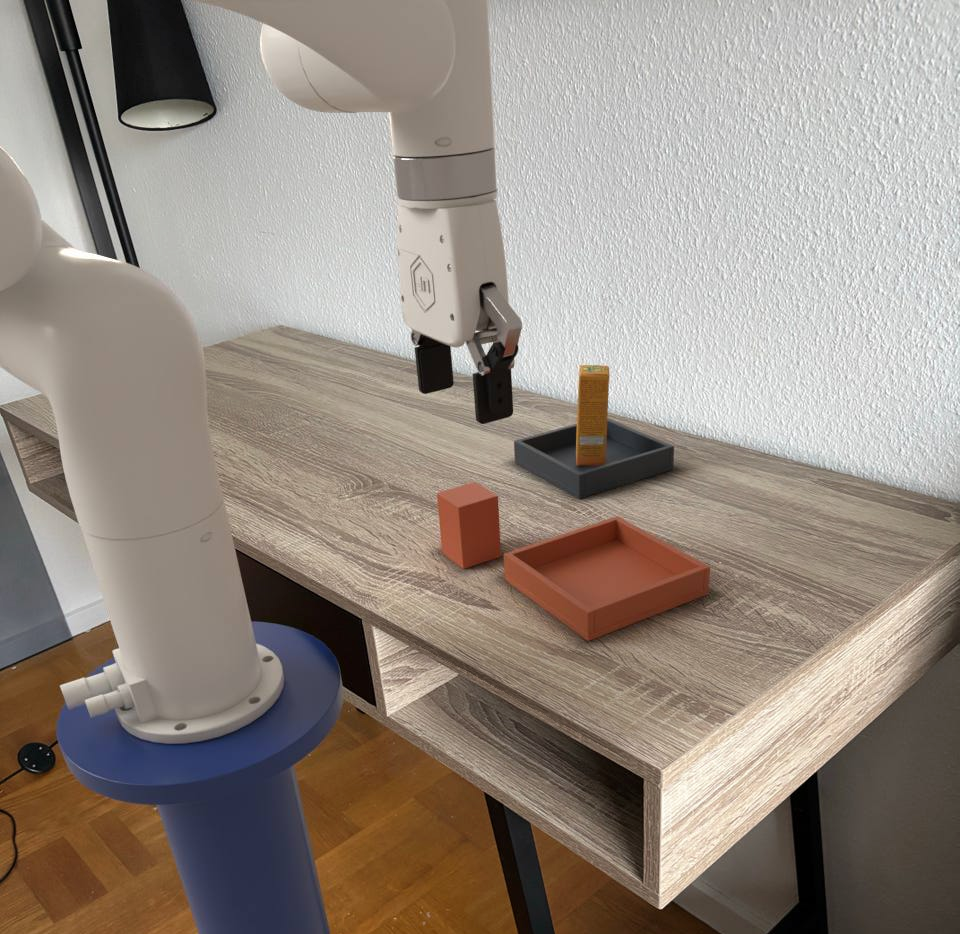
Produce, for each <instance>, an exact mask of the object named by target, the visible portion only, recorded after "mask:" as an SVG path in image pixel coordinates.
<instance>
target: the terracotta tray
mask: <svg viewBox="0 0 960 934" xmlns="http://www.w3.org/2000/svg"><path fill="white" fill-rule="evenodd" d="M503 567H504V568H503V570H504V581H506V582H507V583H508V584H510V585H511V586H513V587H514V588H515V589H517V590H518V591H519V592H520V593H522V594H523V595H524V596H526V597H527V598H528V599H530V600H531V601H532V602H534V603H535V604H537V605H538V606H539V607H541V608H542V609H543V610H545V611H546V612H547V613H549V614H550V615H552V616H553V617H554V618H555V619H557V620H558V621H560V622H561V623H562V624H564V625H565V626H566V627H568V628H569V629H570V630H572V631H573V632H575V633H576V634H577V635H578V636H580V637H582V638H583V639H584V640H586V641H587V642H590V641H593V640H595V639H598V638H600V637H603V636H605V635H608V634H610V633H613V632H615V631H618V630H620V629H623V628H625V627H629V626H630V625H633V624H636V623H638V622H641V621H644V620H646V619H649V618H651V617H653V616H657V615H659V614H662V613H664V612H667V611H670V610H671V609H675V608H677V607H679V606H682V605H684V604H687V603H690V602H692V601H694V600H698V599H700V598H702V597H705V596H707V595H709V588H710V576H711V566H710V565H708V564H706V563H704V562H703V561H700V560H699V559H697V558H695V557H693V556H691V555H689V554H687V553H686V552H684V551H682V550H680V549H678V548H677V547H675V546H673V545H671V544H669V543H668V542H665V541H664V540H662V539H661V538H659V537H656V536H655V535H654V534H651V533H650V532H648V531H646V530H644V529H642V528H640V527H638V526H637V525H635V524H633V523H631V522H630V521H627V520H626V519H624V518H622V517H620V516H618V515H616V516H613V517H610V518H608V519H605V520H601V521H598V522H595V523H592V524H589V525H587V526H582V527H579V528H577V529H574V530H571V531H568V532H565V533H561V534H559V535H555V536H553V537H550V538H547V539H544V540H541V541H537V542H535V543H534V542H533V543H532V544H529V545H526V546H523V547H519V548H517V549H513V550H511V551H509V552H505V553H503Z"/></svg>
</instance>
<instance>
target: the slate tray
mask: <svg viewBox="0 0 960 934" xmlns="http://www.w3.org/2000/svg"><path fill="white" fill-rule="evenodd" d="M576 435H577V423H574V424H571V425H567V426H563V427H560V428H556V429H552V430H549V431H545V432H541V433H538V434H534V435H529V436H526V437H523V438H520V439H516V440H514V441H513V450H514V451H513V453H514V464H515V465H518V466H520V467H521V468H523V469H524V470H527V471H529V472H530V473H532V474H534V475H535V476H538V477H539V478H541V479H543V480H544V481H546V482H548V483H550V484H552V485H554V486H556V487H557V488H559V489H561V490H563V491H565V492H566V493H568V494H569V495H572V496H574V497H575V498H577V499H578V500H579V499H583V498H587V497H590V496H593V495H596V494H599V493H603V492H605V491H610V490H612V489H616V488H618V487H622V486H625V485H628V484H631V483H634V482H637V481H641V480H645V479H647V478H650V477H653V476H657V475H660V474H663V473H666V472H670V471H673V470H674V462H675V461H674V460H675V459H674V458H675V446H674V445H672V444H670V443H667V442H665V441H662V440H661V439H658V438H655V437H654V436H650V435H648V434H646V433H644V432H642V431H639V430H637V429H636V428H635V429H634V428H633V427H630V426H627V425H626V424H623V423H620V422H618V421H616V420H614V419H612V418H609V417H607V440H606V465H602V466H590V467H585V466H577V464H576Z"/></svg>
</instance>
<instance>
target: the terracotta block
mask: <svg viewBox="0 0 960 934" xmlns="http://www.w3.org/2000/svg"><path fill="white" fill-rule="evenodd" d="M436 500H437V508H438V509H437V511H438V521H439V522H438V523H439V532H440V543H441V544H440V545H441V553H442V554H443V555H444V556H446V557H447V558H448V559H449V560H451V561H452V562H453V563H455V564H456V565H457V566H458V567H460V568H461V569H463V570H465V569H468V568H471V567H474V566H478V565H480V564H483V563H486V562H489V561H492V560H495V559H499V558H501V557H502V546H501V545H502V544H501V528H500V527H501V526H500V525H501V524H500V511H499V510H500V509H499V508H500V507H499V496H498V495H497V494H496V493H495V492H492V491H491V490H489V489H488V488H486V487H484V486H483V485H481V484H480V483H478V482H476V481H473V482H469V483H467V484H463V485H459V486H456V487H453V488H449V489H445V490H442V491H439V492H437V493H436Z"/></svg>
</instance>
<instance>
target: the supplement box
mask: <svg viewBox="0 0 960 934" xmlns="http://www.w3.org/2000/svg"><path fill="white" fill-rule="evenodd" d="M577 387H578V389H577V407H576V408H577V410H576V411H577V412H576V413H577V414H576V424H577V435H576V464H577V466H585V467H590V466H602V465H606V440H607V418H608V416H609V415H608V413H609V390H610V389H609V388H610V367H609V366H608V365H600V364H581V365H579V371H578V386H577Z"/></svg>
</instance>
